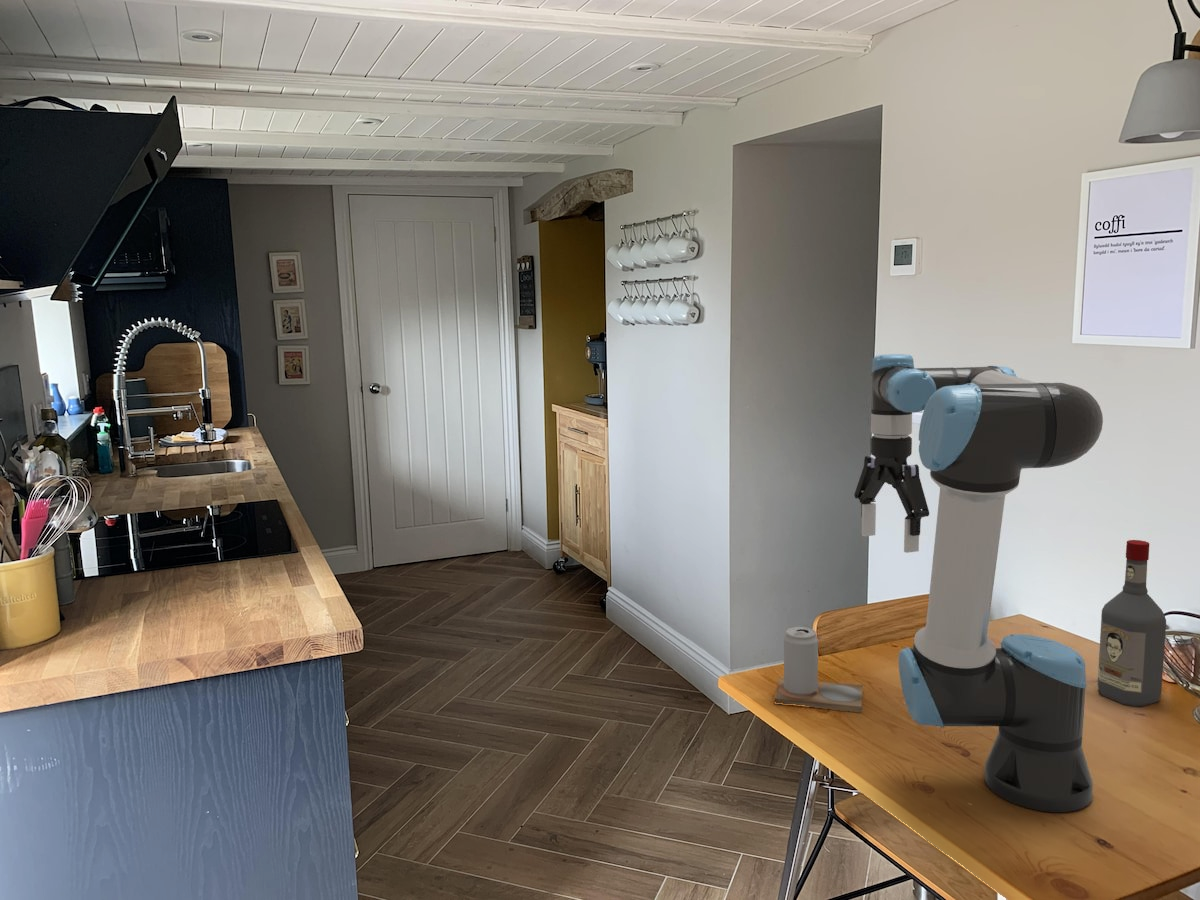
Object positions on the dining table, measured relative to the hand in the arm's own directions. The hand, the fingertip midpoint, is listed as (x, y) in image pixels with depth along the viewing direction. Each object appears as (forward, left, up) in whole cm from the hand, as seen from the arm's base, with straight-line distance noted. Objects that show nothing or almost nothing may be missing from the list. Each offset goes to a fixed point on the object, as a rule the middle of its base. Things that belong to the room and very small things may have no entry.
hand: (889, 543), depth 178 cm
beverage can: (-11, +16, -28) cm, 34 cm away
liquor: (+4, -44, -29) cm, 53 cm away
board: (-10, +12, -29) cm, 33 cm away
